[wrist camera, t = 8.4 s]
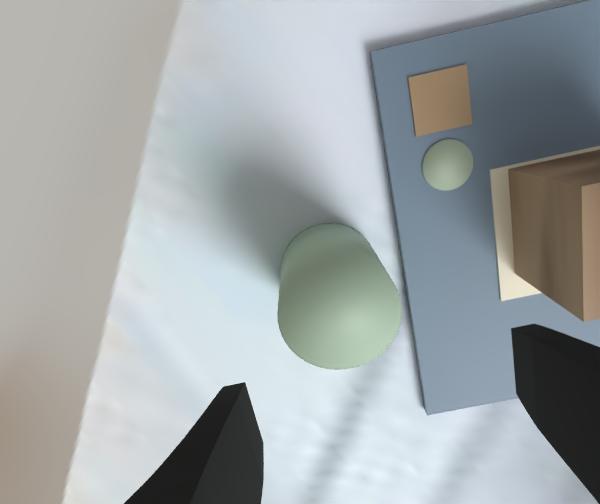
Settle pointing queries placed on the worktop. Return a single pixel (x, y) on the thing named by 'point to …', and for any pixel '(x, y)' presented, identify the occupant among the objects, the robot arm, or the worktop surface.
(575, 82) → the board
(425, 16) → the worktop surface
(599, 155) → the walnut block
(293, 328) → the sage drum
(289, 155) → the worktop surface
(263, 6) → the worktop surface
